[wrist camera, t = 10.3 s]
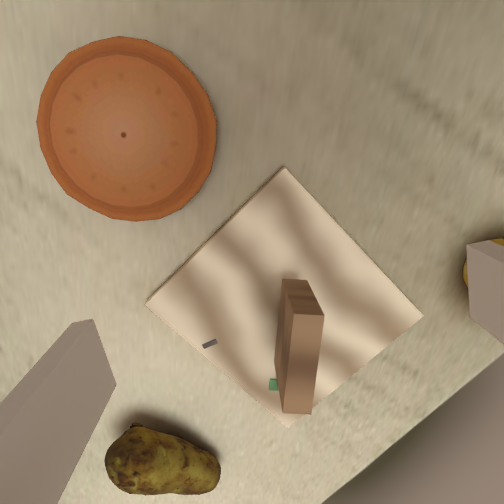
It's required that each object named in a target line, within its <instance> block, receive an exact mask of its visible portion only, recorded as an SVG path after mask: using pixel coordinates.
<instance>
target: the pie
mask: <svg viewBox="0 0 504 504" xmlns="http://www.w3.org/2000/svg"><path fill="white" fill-rule="evenodd" d="M36 122H37V128H38V134H39V141H40V147H41V150H42V152H43V155H44V157H45V159H46V162H47V164H48V167H49V169H50V171H51V173H52V175H53V176H54V177H55V179H56V180H57V182H58V183H59V184H60V186H61V187H62V188H63V190H64V191H65V192H66V194H67V195H69V196H71V197H72V198H74V199H75V200H77V201H79V202H80V203H82V204H83V205H85V206H87V207H88V208H90V209H92V210H94V211H97V212H99V213H101V214H103V215H105V216H107V217H109V218H112V219H119V220H128V221H145V220H154V219H161V218H163V217H165V216H167V215H169V214H171V213H173V212H176V211H178V210H180V209H182V208H183V207H184V206H185V205H186V204H187V203H188V202H189V201H190V200H191V199H192V198H193V197H194V196H195V195H196V194H197V193H198V192H199V190H200V188H201V187H202V185H203V183H204V182H205V180H206V178H207V177H208V175H209V173H210V172H211V167H212V163H213V158H214V154H215V149H216V126H217V121H216V118H215V115H214V112H213V109H212V106H211V103H210V100H209V97H208V94H207V93H206V92H205V90H204V89H203V87H202V86H201V84H200V83H199V81H198V80H197V78H196V77H195V76H194V74H193V73H192V72H191V71H190V70H189V69H188V68H187V67H186V66H185V65H184V64H183V63H182V62H181V61H180V60H179V59H178V58H177V57H176V56H175V55H174V54H173V53H172V52H170V51H168V50H165V49H163V48H161V47H159V46H157V45H155V44H153V43H151V42H149V41H147V40H141V39H135V38H129V37H122V36H117V37H113V38H108V39H104V40H99V41H95V42H92V43H89V44H87V45H85V46H83V47H81V48H78V49H76V50H74V51H72V52H70V53H68V55H67V56H66V57H65V58H64V59H63V60H62V61H61V62H60V63H59V64H58V66H57V67H56V68H55V69H54V70H53V71H52V72H51V74H50V76H49V79H48V81H47V83H46V85H45V88H44V90H43V92H42V94H41V98H40V104H39V110H38V116H37V121H36Z"/></svg>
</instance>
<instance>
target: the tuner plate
mask: <svg viewBox="0 0 504 504" xmlns="http://www.w3.org/2000/svg"><path fill="white" fill-rule="evenodd" d="M282 279H299V280H307V281H308V283H309V285H310V287H311V289H312V291H313V293H314V295H315V297H316V299H317V301H318V303H319V305H320V307H321V309H322V311H323V313H324V315H325V317H324V324H323V332H322V339H321V346H320V354H319V361H318V368H317V376H316V383H315V390H314V398H313V405H312V408H313V407H314V406H316V405H317V404H318V403H319V402H320V401H322V400H323V399H324V398H325V397H326V396H328V395H329V394H330V393H331V392H332V391H334V390H335V389H336V388H337V387H338V386H340V385H341V384H342V383H343V382H344V381H346V380H347V379H348V378H349V377H350V376H352V375H353V374H354V373H355V372H357V371H358V370H359V369H360V368H361V367H363V366H364V365H365V364H366V363H367V362H369V361H370V360H371V359H372V358H373V357H375V356H376V355H377V354H378V353H379V352H381V351H382V350H383V349H384V348H385V347H387V346H388V345H389V344H390V343H391V342H393V341H394V340H395V339H396V338H397V337H399V336H400V335H401V334H402V333H404V332H405V331H406V330H407V329H408V328H410V327H411V326H412V325H413V324H414V323H416V322H417V321H418V320H419V319H420V318H422V317H423V315H422V314H421V313H420V312H419V310H418V309H417V308H416V307H415V306H414V305H413V304H412V303H411V302H410V301H409V300H408V299H407V298H406V297H405V295H404V294H403V293H402V292H401V291H400V290H399V289H398V288H397V287H396V286H395V285H394V284H393V283H392V282H391V281H390V279H389V278H388V277H387V276H386V275H385V274H384V273H383V272H382V271H381V270H380V269H379V268H378V267H377V266H376V264H375V263H374V262H373V261H372V260H371V259H370V258H369V257H368V256H367V255H366V254H365V253H364V252H363V251H362V249H361V248H360V247H359V246H358V245H357V244H356V243H355V242H354V241H353V240H352V239H351V238H350V237H349V236H348V234H347V233H346V232H345V231H344V230H343V229H342V228H341V227H340V226H339V225H338V224H337V223H336V222H335V221H334V220H333V218H332V217H331V216H330V215H329V214H328V213H327V212H326V211H325V210H324V209H323V208H322V207H321V206H320V205H319V203H318V202H317V201H316V200H315V199H314V198H313V197H312V196H311V195H310V194H309V193H308V192H307V191H306V190H305V188H304V187H303V186H302V185H301V184H300V183H299V182H298V181H297V180H296V179H295V178H294V177H293V176H292V175H291V173H290V172H289V171H288V170H287V169H286V168H285V167H282V168H281V169H280V170H279V171H278V172H277V173H276V174H275V175H274V176H273V177H272V178H271V179H270V180H269V181H268V182H267V183H266V184H265V185H264V186H263V187H262V188H261V189H259V190H258V191H257V192H256V193H255V194H254V195H253V196H252V197H251V198H250V199H249V200H248V201H247V202H246V203H245V204H244V205H243V206H242V207H241V208H240V209H239V210H238V211H237V212H236V213H235V214H234V215H233V216H232V217H231V218H230V219H229V220H228V221H227V222H226V223H225V224H224V225H223V226H222V227H221V228H220V229H219V230H218V231H217V232H216V233H215V234H214V235H213V236H212V237H211V238H210V239H209V240H208V241H207V242H206V243H204V244H203V245H202V246H201V247H200V248H199V249H198V250H197V251H196V252H195V253H194V254H193V255H192V256H191V257H190V258H189V259H188V260H187V261H186V262H185V263H184V264H183V265H182V266H181V267H180V268H179V269H178V270H177V271H176V272H175V273H174V274H173V275H172V276H171V277H170V278H169V279H168V280H167V281H166V282H165V283H164V284H163V285H162V286H161V287H160V288H159V289H158V290H157V291H156V292H155V293H154V294H153V295H152V296H151V297H150V298H148V300H147V301H146V303H145V306H146V307H147V308H149V309H150V310H151V311H152V312H153V313H154V314H156V315H157V316H158V317H159V318H160V319H161V320H163V321H164V322H165V323H166V324H167V325H168V326H170V327H171V328H172V329H173V330H174V331H175V332H177V333H178V334H179V335H180V336H181V337H182V338H184V339H185V340H186V341H187V342H188V343H189V344H191V345H192V346H193V347H194V348H195V349H196V350H198V351H199V352H200V353H201V354H202V355H203V356H205V357H206V358H207V359H208V360H209V361H210V362H212V363H213V364H214V365H215V366H216V367H217V368H219V369H220V370H221V371H222V372H223V373H224V374H226V375H227V376H228V377H229V378H230V379H231V380H233V381H234V382H235V383H236V384H237V385H238V386H240V387H241V388H242V389H243V390H244V391H245V392H247V393H248V394H249V395H250V396H251V397H252V398H254V399H255V400H256V401H257V402H258V403H259V404H261V405H262V406H263V407H264V408H265V409H266V410H267V411H269V412H270V413H271V414H272V415H273V416H274V417H276V418H277V419H278V420H279V421H280V422H281V423H283V424H284V425H285V426H286V427H287V428H289V427H290V426H291V425H293V424H294V423H295V422H296V421H297V420H299V419H300V418H301V417H302V416H303V415H305V414H288V413H283V412H282V406H281V400H280V395H279V389H278V387H277V377H276V371H275V365H274V355H275V346H276V336H277V326H278V316H279V306H280V297H281V287H282Z"/></svg>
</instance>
